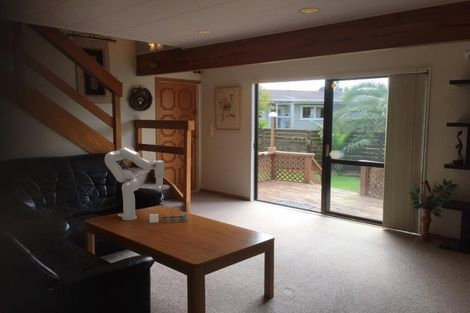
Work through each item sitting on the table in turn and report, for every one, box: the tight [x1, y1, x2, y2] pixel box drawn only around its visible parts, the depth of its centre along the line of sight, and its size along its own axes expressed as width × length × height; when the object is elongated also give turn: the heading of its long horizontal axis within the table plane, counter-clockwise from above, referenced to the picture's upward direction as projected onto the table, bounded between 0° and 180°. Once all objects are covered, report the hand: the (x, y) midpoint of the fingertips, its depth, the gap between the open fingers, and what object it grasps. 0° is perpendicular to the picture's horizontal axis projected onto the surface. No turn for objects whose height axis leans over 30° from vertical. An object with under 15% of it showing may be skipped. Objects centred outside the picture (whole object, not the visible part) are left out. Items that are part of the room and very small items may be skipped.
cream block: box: [149, 213, 160, 223], centre depth 318 cm, size 7×4×6 cm, turn 100°
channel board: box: [161, 212, 188, 224], centre depth 320 cm, size 20×12×6 cm, turn 100°
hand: (159, 196), depth 320 cm, fingers open, 9 cm apart
